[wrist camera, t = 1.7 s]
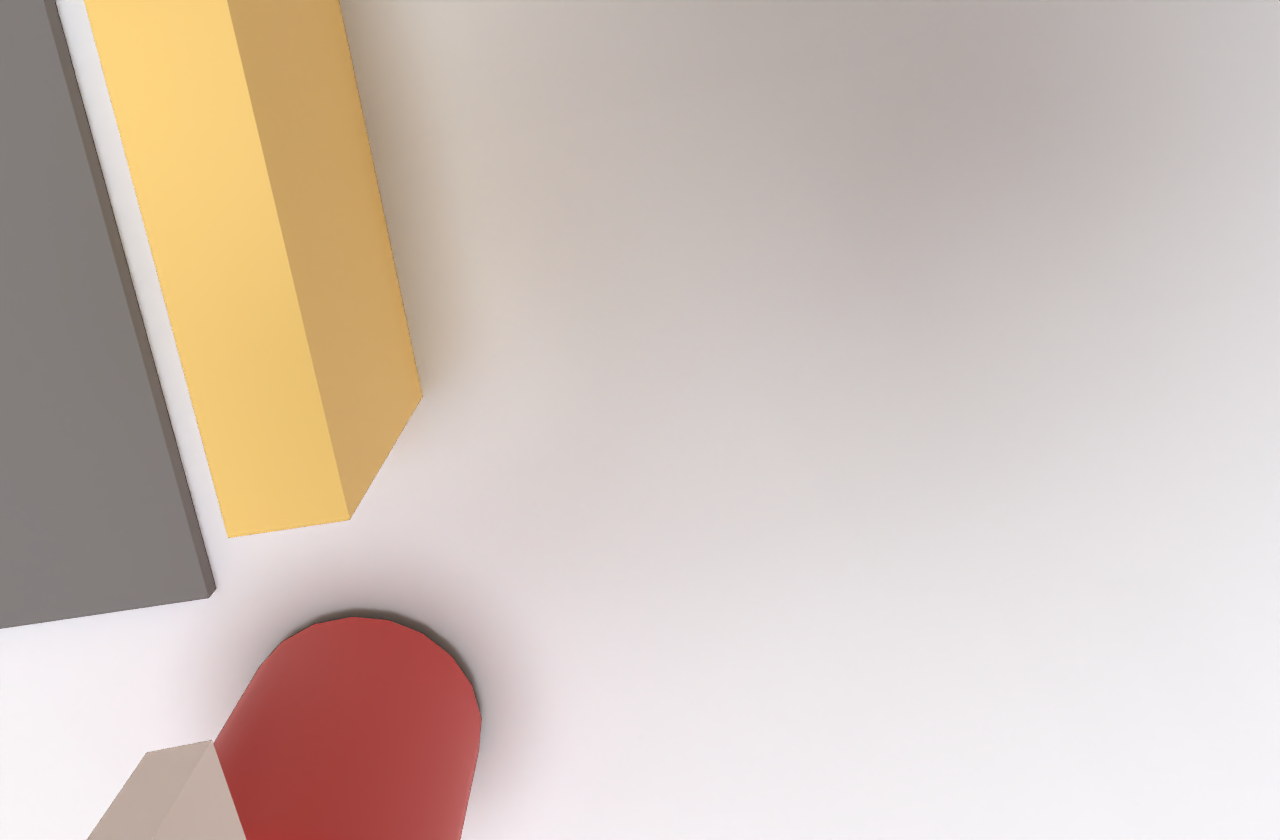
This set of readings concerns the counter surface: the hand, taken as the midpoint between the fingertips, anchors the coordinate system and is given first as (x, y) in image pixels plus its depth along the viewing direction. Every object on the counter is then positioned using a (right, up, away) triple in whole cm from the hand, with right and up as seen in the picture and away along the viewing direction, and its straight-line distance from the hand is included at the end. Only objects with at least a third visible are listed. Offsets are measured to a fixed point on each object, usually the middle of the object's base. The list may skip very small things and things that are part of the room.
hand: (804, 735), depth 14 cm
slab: (-10, +9, +17) cm, 22 cm away
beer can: (-10, -5, +21) cm, 24 cm away
